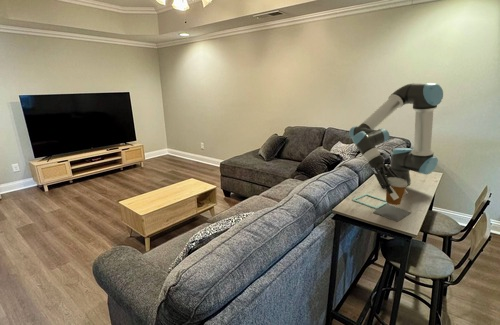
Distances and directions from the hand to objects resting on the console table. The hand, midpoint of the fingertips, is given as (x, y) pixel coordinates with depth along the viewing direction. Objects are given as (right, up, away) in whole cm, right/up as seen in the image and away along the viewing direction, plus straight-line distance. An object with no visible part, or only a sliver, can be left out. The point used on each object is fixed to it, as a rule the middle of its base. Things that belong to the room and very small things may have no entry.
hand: (401, 196), depth 129 cm
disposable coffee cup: (-2, -4, +4) cm, 6 cm away
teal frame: (-6, -5, +19) cm, 21 cm away
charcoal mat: (-2, -9, +5) cm, 11 cm away
